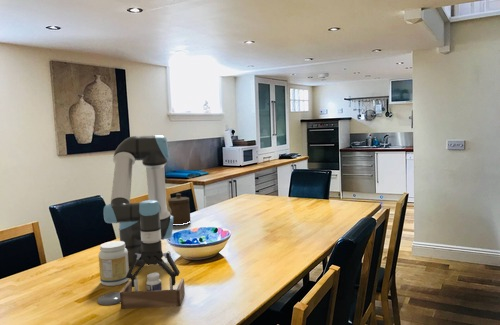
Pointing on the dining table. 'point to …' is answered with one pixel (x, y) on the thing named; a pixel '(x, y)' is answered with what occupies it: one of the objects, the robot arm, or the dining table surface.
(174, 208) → the wooden container
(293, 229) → the dining table surface
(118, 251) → the supplement tub
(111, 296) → the coaster
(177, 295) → the wooden u-shaped bracket
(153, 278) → the pill bottle
